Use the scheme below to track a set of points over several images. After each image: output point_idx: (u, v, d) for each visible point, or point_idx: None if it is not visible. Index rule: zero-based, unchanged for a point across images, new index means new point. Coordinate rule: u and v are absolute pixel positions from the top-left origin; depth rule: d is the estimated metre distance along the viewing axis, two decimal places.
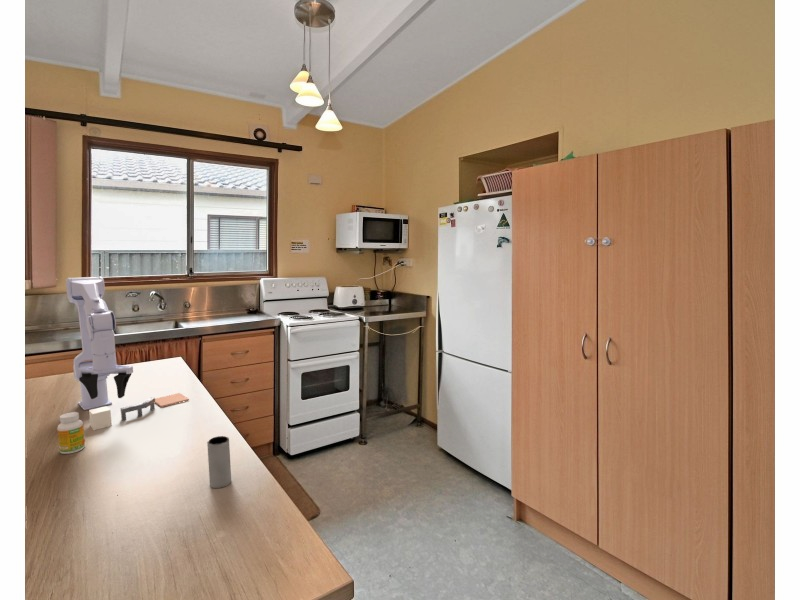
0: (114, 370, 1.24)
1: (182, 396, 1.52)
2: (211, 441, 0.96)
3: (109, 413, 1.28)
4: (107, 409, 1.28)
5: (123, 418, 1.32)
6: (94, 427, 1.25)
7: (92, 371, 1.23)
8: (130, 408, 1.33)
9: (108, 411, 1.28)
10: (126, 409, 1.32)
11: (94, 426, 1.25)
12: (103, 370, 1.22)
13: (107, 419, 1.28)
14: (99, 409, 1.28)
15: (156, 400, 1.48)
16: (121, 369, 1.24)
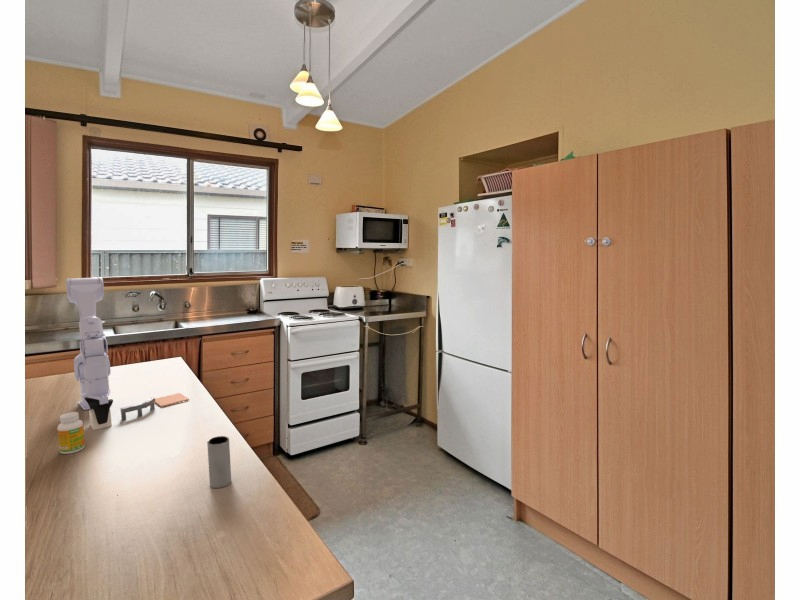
0: (93, 397, 1.23)
1: (182, 396, 1.52)
2: (211, 441, 0.96)
3: (109, 413, 1.28)
4: None
5: (123, 418, 1.32)
6: (94, 427, 1.25)
7: None
8: (130, 408, 1.33)
9: None
10: (126, 409, 1.32)
11: (94, 426, 1.25)
12: (87, 395, 1.24)
13: None
14: None
15: (156, 400, 1.48)
16: (96, 398, 1.23)
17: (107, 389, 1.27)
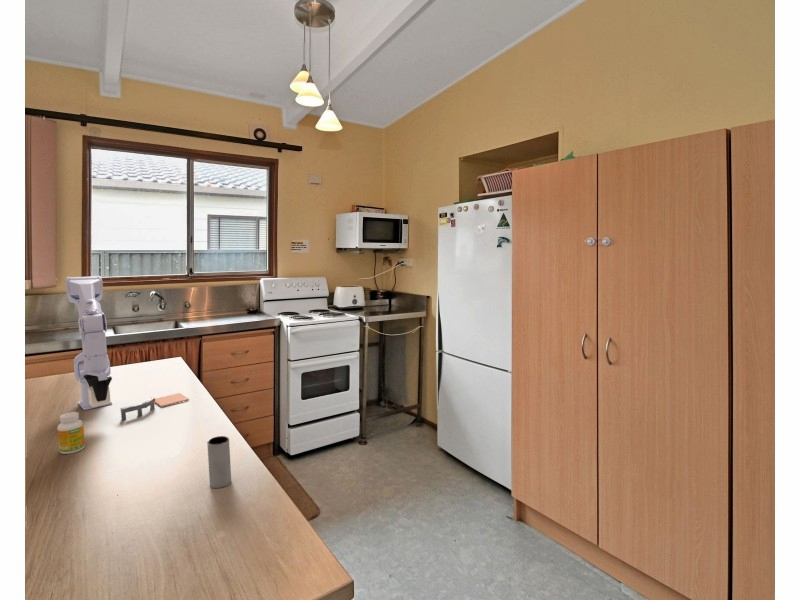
0: (91, 374, 1.23)
1: (182, 396, 1.52)
2: (211, 441, 0.96)
3: (108, 390, 1.27)
4: None
5: (123, 418, 1.32)
6: (93, 404, 1.25)
7: None
8: (130, 408, 1.33)
9: None
10: (126, 409, 1.32)
11: (93, 403, 1.25)
12: (85, 371, 1.24)
13: None
14: None
15: (156, 400, 1.48)
16: (95, 374, 1.22)
17: (106, 366, 1.27)
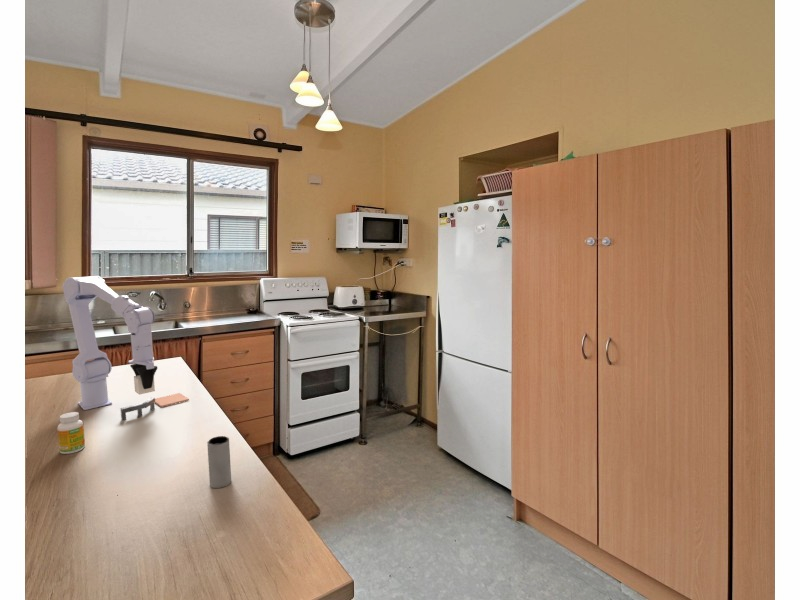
0: (139, 363, 1.32)
1: (182, 396, 1.52)
2: (211, 441, 0.96)
3: None
4: None
5: (123, 418, 1.32)
6: (139, 392, 1.34)
7: None
8: (130, 408, 1.33)
9: None
10: (126, 409, 1.32)
11: (139, 391, 1.34)
12: (134, 361, 1.33)
13: None
14: None
15: (156, 400, 1.48)
16: (143, 363, 1.32)
17: (152, 356, 1.36)
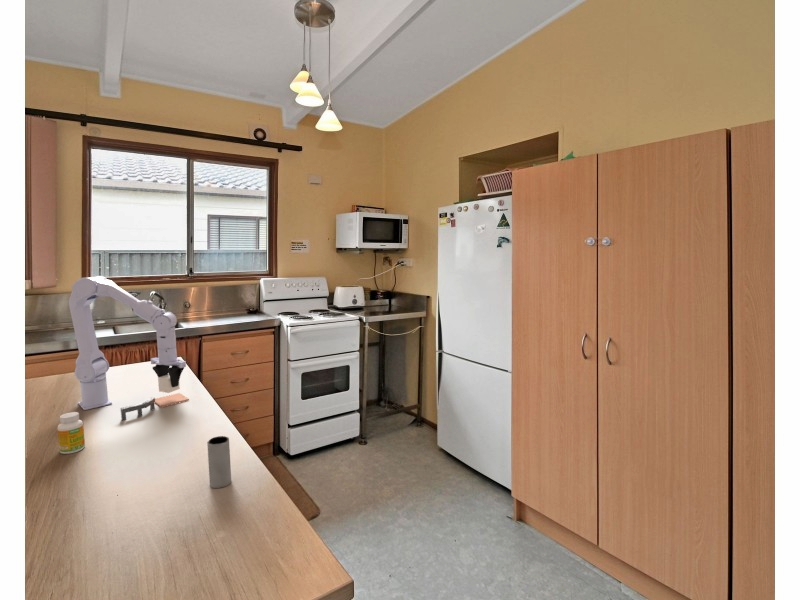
0: (170, 363, 1.44)
1: (182, 396, 1.52)
2: (211, 441, 0.96)
3: None
4: None
5: (123, 418, 1.32)
6: (168, 390, 1.46)
7: (157, 362, 1.46)
8: (130, 408, 1.33)
9: None
10: (126, 409, 1.32)
11: (168, 389, 1.46)
12: (163, 362, 1.44)
13: None
14: (167, 375, 1.48)
15: (156, 400, 1.48)
16: (175, 363, 1.44)
17: (176, 357, 1.48)
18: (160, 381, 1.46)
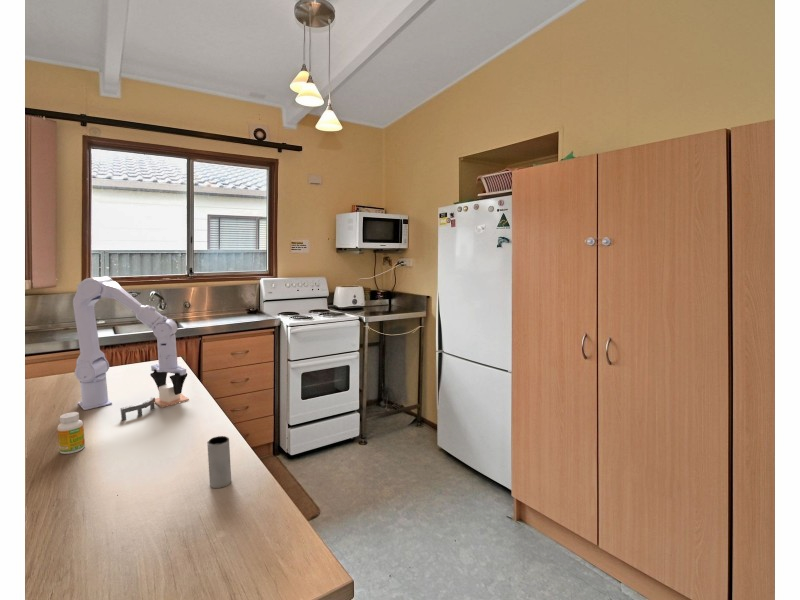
0: (171, 370, 1.45)
1: (182, 396, 1.52)
2: (211, 441, 0.96)
3: None
4: None
5: (123, 418, 1.32)
6: (169, 400, 1.46)
7: None
8: (130, 408, 1.33)
9: None
10: (126, 409, 1.32)
11: (169, 399, 1.46)
12: (163, 369, 1.45)
13: None
14: (167, 385, 1.49)
15: (156, 400, 1.48)
16: (176, 370, 1.45)
17: (177, 364, 1.49)
18: (161, 390, 1.47)
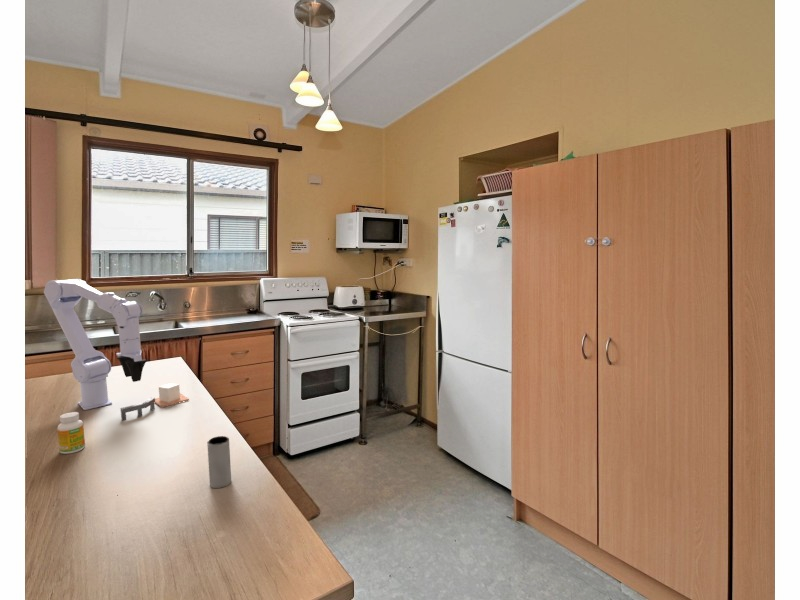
0: (127, 355, 1.36)
1: (182, 396, 1.52)
2: (211, 441, 0.96)
3: (178, 387, 1.49)
4: (176, 384, 1.49)
5: (123, 418, 1.32)
6: (169, 400, 1.46)
7: (120, 353, 1.39)
8: (130, 408, 1.33)
9: (178, 385, 1.49)
10: (126, 409, 1.32)
11: (169, 399, 1.46)
12: (121, 353, 1.37)
13: (177, 393, 1.49)
14: (167, 385, 1.49)
15: (156, 400, 1.48)
16: (131, 356, 1.35)
17: (139, 349, 1.40)
18: (161, 390, 1.47)
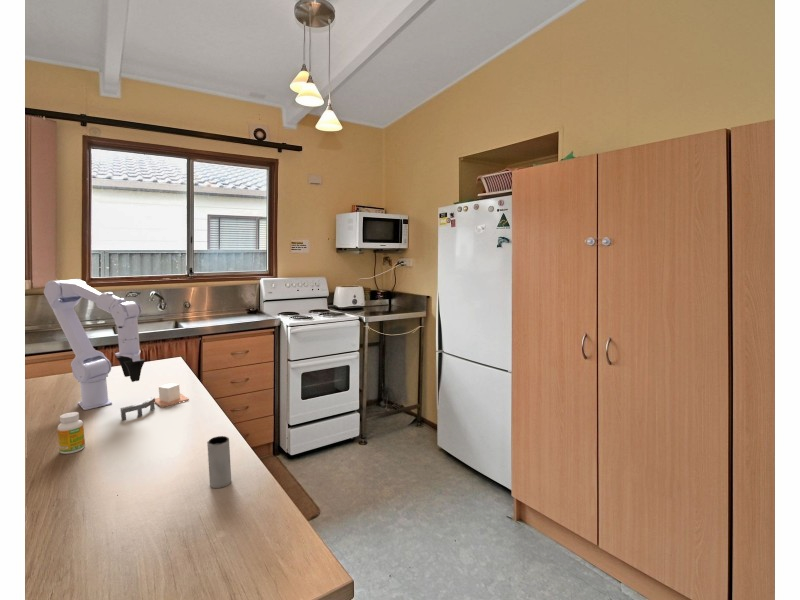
0: (126, 355, 1.36)
1: (182, 396, 1.52)
2: (211, 441, 0.96)
3: (178, 387, 1.49)
4: (176, 384, 1.49)
5: (123, 418, 1.32)
6: (169, 400, 1.46)
7: None
8: (130, 408, 1.33)
9: (178, 385, 1.49)
10: (126, 409, 1.32)
11: (169, 399, 1.46)
12: (120, 353, 1.37)
13: (177, 393, 1.49)
14: (167, 385, 1.49)
15: (156, 400, 1.48)
16: (129, 356, 1.35)
17: (138, 349, 1.40)
18: (161, 390, 1.47)
